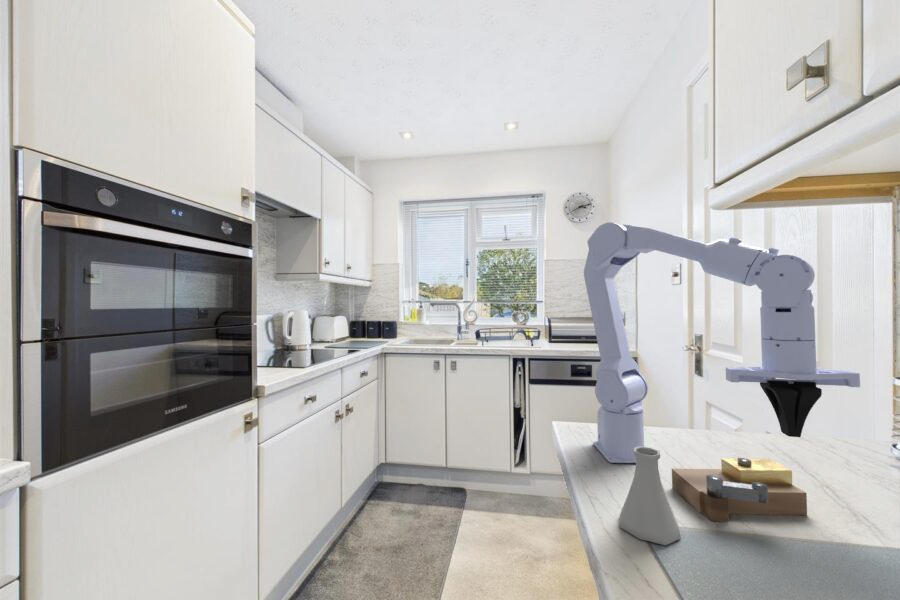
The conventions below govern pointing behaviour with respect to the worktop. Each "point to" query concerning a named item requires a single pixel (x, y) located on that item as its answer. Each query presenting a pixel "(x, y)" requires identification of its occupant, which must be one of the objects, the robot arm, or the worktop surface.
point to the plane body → (718, 509)
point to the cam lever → (736, 490)
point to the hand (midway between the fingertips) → (790, 434)
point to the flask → (648, 502)
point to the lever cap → (756, 471)
